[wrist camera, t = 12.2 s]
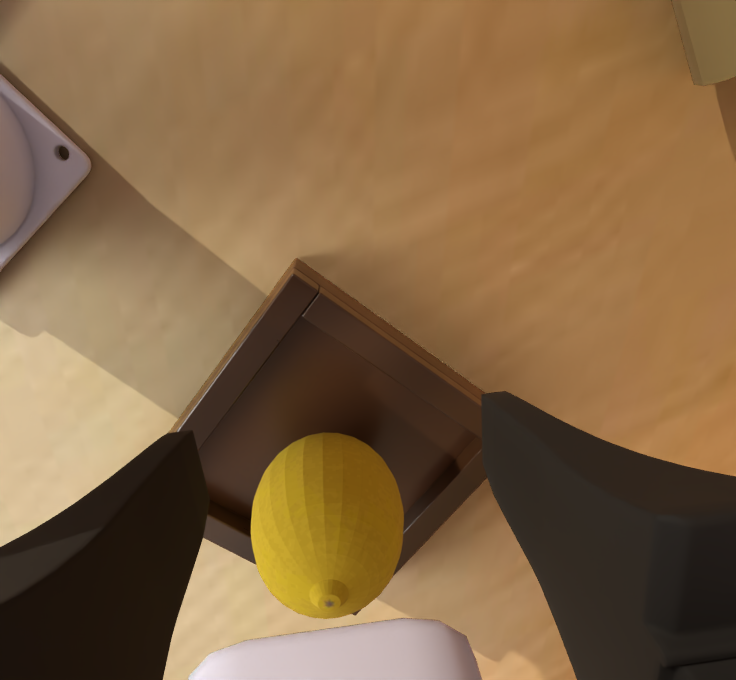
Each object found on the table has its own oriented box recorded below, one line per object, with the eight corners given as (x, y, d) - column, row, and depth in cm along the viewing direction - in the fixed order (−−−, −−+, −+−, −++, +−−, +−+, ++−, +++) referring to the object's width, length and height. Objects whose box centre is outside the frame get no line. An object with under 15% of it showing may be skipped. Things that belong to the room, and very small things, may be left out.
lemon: (413, 431, 23) (456, 570, 16) (350, 523, 24) (363, 691, 17) (299, 377, 22) (287, 501, 14) (241, 478, 23) (203, 639, 16)
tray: (147, 461, 24) (126, 499, 22) (296, 256, 22) (292, 273, 19) (352, 571, 28) (355, 616, 25) (504, 406, 25) (526, 437, 22)
